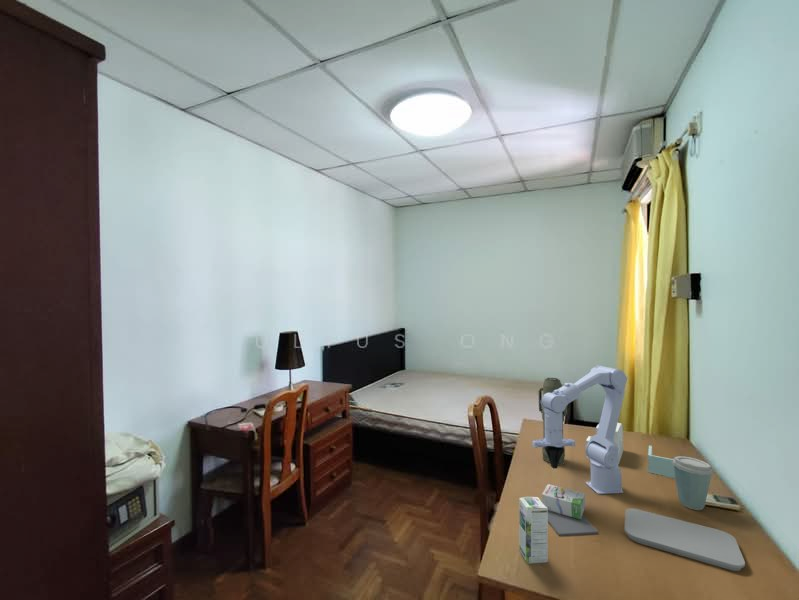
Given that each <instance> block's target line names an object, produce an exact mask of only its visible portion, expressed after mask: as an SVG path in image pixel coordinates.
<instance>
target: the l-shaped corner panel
mask: <svg viewBox="0 0 799 600" xmlns="http://www.w3.org/2000/svg"><path fill="white" fill-rule="evenodd" d="M647 451H648V452H647V463H648V464H647V466H648V467H647V468H648V469H647V470H648V472H649V473H648V474H652V473H654V474H653V475H656V474H658V475H657V476H661V475H663V476H662V477H665V476H666V478H671V479H675V472H674V466H673V463H672V461H673V459H674V458H670V457H663V456H658V455H653V446H652V445H648V450H647Z"/></svg>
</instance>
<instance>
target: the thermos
mask: <svg viewBox="0 0 799 600" xmlns="http://www.w3.org/2000/svg"><path fill="white" fill-rule="evenodd" d="M561 382H562V381H561V380H560V379H559V378H558V377H557V378H556V377H546V378H545V379H544V381H543V384H542V387H540V389H539V390H538V409H539V412H540V413H541V419H542V421H543V422H542V425H543V426H542V427H543V428H542V429H543V431H542V432H543V434H542V435H543V438H542V439H544V438H545V413H544V408H543V406H542V405H541V400H542V397H543V396H542V395H544V394H546V393H552V392H554V390H557V389H559V388H561V387H562V386H563V385H562V383H561ZM567 415H568V405H567V406H566V408H565V410H564V411H563V412H562V436H563V437H564V422H565V417H566V416H567ZM562 448H563V449H564V453H563V454H562V456H561V458H560V460H559V463H558V466H559V464H562V465H564V464H565V463H564V462H565V456H566V449H565V448H566V446H562ZM541 452H542V461H543V462H544V463H546V462H547V464H549V463H550V460H549V457H548V454H547V452H546V450H545V448H544V447H541ZM563 463H564V464H563Z"/></svg>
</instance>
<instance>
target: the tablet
mask: <svg viewBox="0 0 799 600" xmlns="http://www.w3.org/2000/svg"><path fill="white" fill-rule="evenodd" d="M624 532H625V534H626V535H627V537H628V539H630V540H631V541H633V542H635V543H639V544H640V545H645V546H648V547H651V548H655V549H659V550H661V551H665V552H669V553H672V554H674V555H679V556H682V557H686V558H689V559H693V560H695V561H699V562H702V563H704V564H705V563H706V564H709V565H712V566H716V567H719V568H723V569H725V570H726V569H727V570H728V571H729V570H730V571H734V572H739V571H741V570H742V568H744V567H745V566H746V562H745V559H744V557H743V556H744V555H743V554H742V551H741V550H740V549H741V548H740V547H739V544H738V542H737V539H736V538H735V537H734V536H733V535H732V534H730V533H728V532H727V531H723V530H720V529H717V528H713V527H709V526H705V525H701V524H697V523H693V522H688V521H685V520H681V519H677V518H673V517H670V516H665V515H662V514H658V513H653V512H649V511H645V510H641V509H638V508H627V509H625V513H624Z"/></svg>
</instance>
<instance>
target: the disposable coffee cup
mask: <svg viewBox="0 0 799 600" xmlns="http://www.w3.org/2000/svg"><path fill="white" fill-rule="evenodd" d="M672 459H673V461H672V463H673V466H674V472H675V478H674V479H675V483H676V484H675V485H676V489H677V490H676V491H677V498H678V502H679V504H681V506H683V507H686V508H688V509H691V510H695V511H702V510H703V509H704V507H706V502H707V498H708V492H709V488H710V483H711V478H712V475H713V474H714V469H713V467H712V466H711V465H710V464H709V463H707V462H705V461H703V460H701V459H697V458H695V457H689V456H679V455H678V456H675V457H674V458H672Z"/></svg>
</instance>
